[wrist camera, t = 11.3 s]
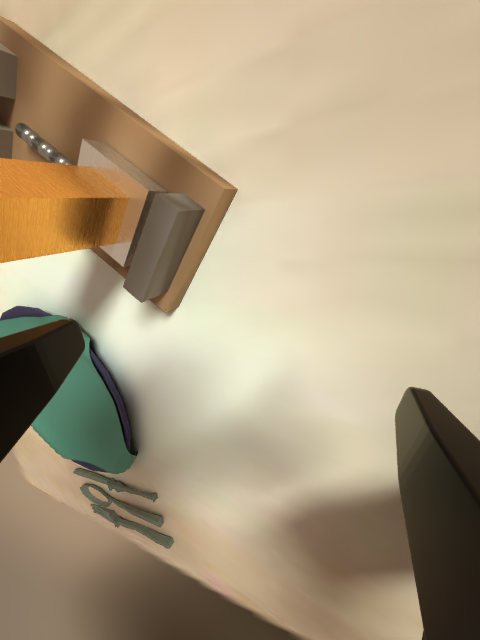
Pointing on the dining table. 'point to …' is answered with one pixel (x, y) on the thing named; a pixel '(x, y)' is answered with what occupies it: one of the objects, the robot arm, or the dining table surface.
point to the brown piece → (131, 143)
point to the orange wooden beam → (72, 202)
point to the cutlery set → (88, 425)
